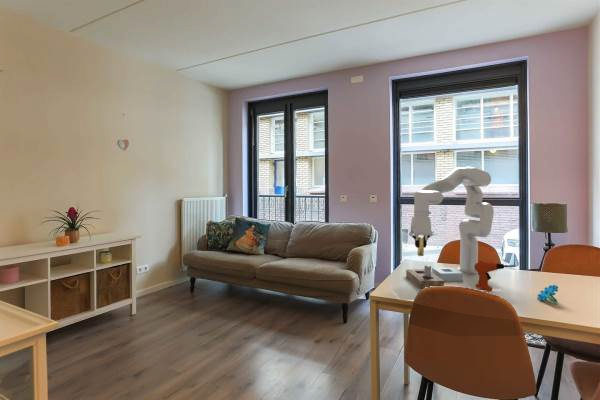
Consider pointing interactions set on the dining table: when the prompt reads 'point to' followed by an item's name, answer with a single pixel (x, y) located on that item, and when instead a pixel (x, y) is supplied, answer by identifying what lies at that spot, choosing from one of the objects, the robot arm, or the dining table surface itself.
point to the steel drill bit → (427, 272)
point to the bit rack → (419, 280)
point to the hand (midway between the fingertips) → (420, 246)
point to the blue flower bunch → (548, 293)
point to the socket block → (448, 274)
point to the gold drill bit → (421, 246)
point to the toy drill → (484, 276)
